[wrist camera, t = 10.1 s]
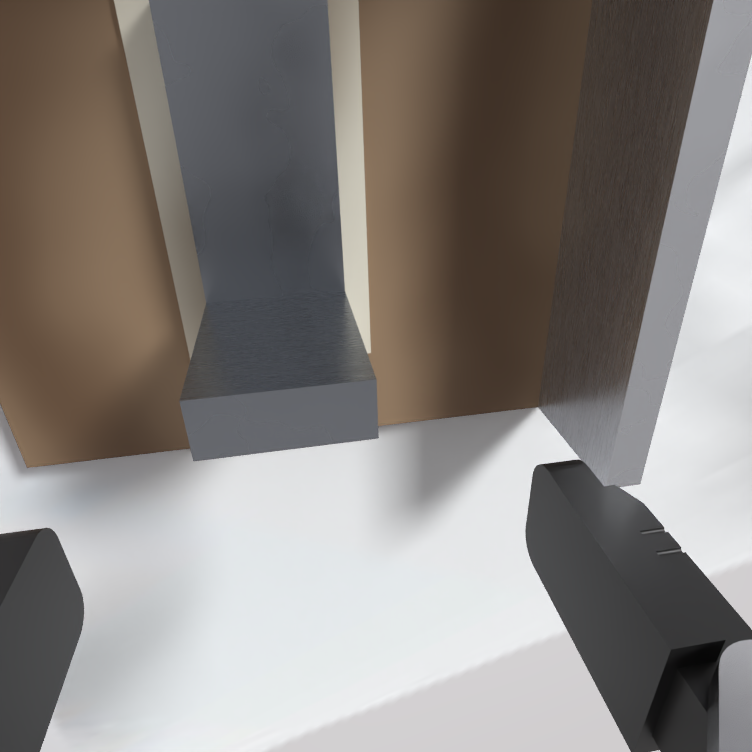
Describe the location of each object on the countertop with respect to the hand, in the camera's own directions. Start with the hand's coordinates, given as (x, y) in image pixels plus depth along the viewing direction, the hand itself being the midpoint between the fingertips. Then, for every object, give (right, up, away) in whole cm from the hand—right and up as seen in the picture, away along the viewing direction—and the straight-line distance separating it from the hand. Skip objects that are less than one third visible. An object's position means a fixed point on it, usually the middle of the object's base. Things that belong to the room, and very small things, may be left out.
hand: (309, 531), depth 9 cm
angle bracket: (-2, +8, +6) cm, 11 cm away
